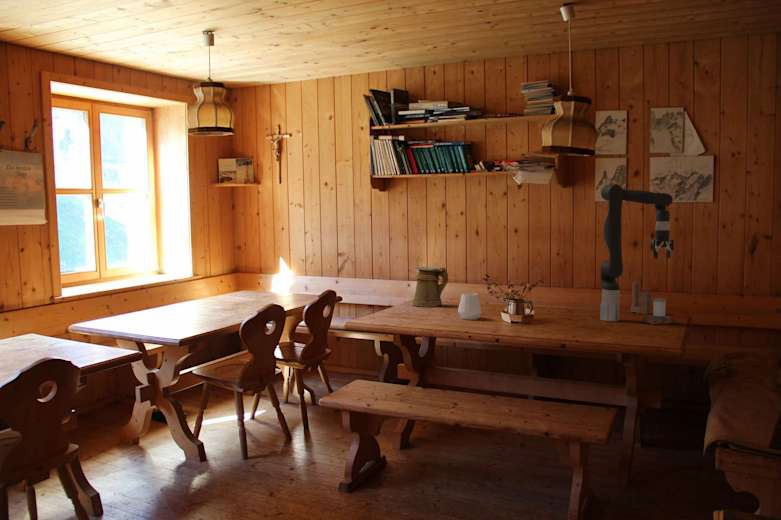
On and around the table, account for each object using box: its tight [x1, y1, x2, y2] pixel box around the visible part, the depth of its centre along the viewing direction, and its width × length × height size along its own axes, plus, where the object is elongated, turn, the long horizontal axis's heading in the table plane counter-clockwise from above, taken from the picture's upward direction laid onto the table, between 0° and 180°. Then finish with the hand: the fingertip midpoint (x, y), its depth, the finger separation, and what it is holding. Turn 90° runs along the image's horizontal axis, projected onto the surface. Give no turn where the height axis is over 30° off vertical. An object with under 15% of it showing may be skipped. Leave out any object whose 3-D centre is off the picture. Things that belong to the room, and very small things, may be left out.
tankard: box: [412, 266, 449, 308], centre depth 435 cm, size 18×24×25 cm
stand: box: [642, 315, 676, 325], centre depth 367 cm, size 14×9×3 cm, turn 109°
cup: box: [457, 292, 482, 321], centre depth 385 cm, size 13×13×14 cm
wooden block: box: [630, 281, 652, 315], centre depth 400 cm, size 4×11×18 cm, turn 40°
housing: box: [652, 297, 667, 318], centre depth 367 cm, size 5×5×10 cm
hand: (661, 258), depth 379 cm, fingers open, 8 cm apart
